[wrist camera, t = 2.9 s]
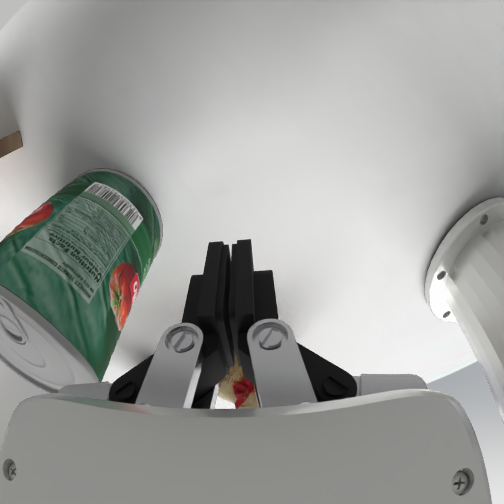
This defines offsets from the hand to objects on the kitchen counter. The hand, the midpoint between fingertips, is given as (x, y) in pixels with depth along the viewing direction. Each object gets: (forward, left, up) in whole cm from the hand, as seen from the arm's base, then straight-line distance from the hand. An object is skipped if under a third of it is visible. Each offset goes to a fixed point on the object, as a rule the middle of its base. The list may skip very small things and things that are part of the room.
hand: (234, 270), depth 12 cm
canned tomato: (+9, 0, -6) cm, 11 cm away
